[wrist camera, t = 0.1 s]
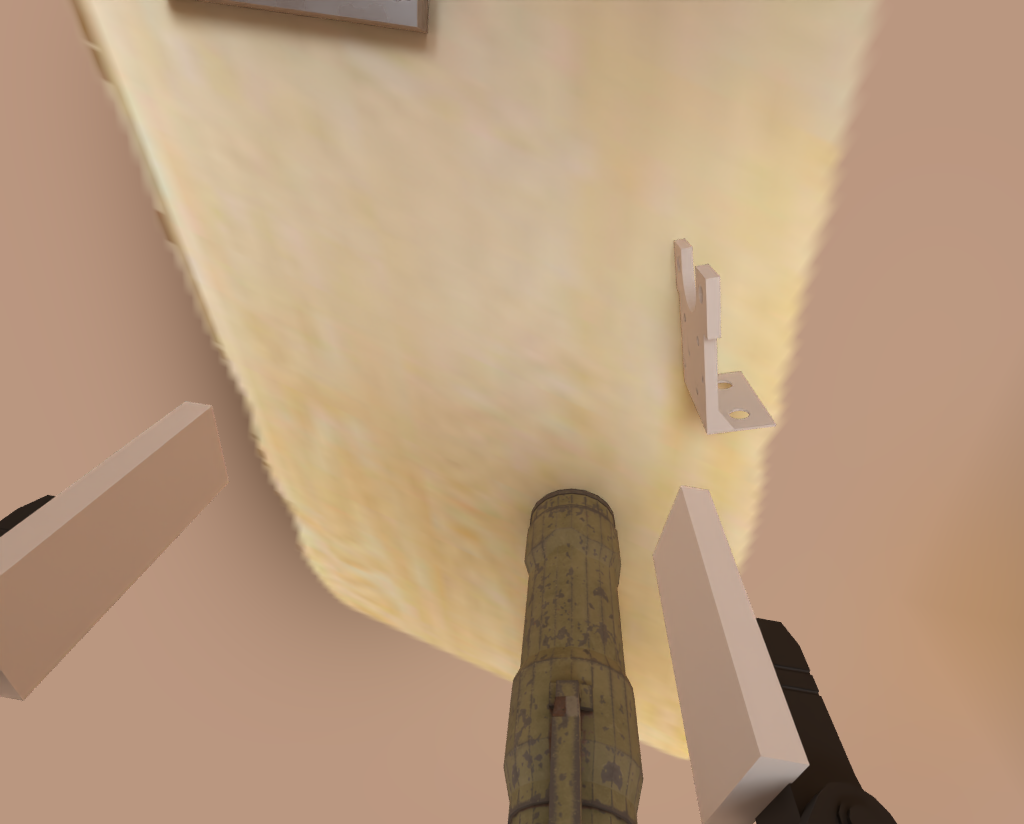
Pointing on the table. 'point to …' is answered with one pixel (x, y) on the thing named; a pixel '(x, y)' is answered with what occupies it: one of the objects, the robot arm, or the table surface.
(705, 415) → the bracket
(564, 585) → the thermos
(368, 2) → the chassis pocket
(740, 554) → the table surface
